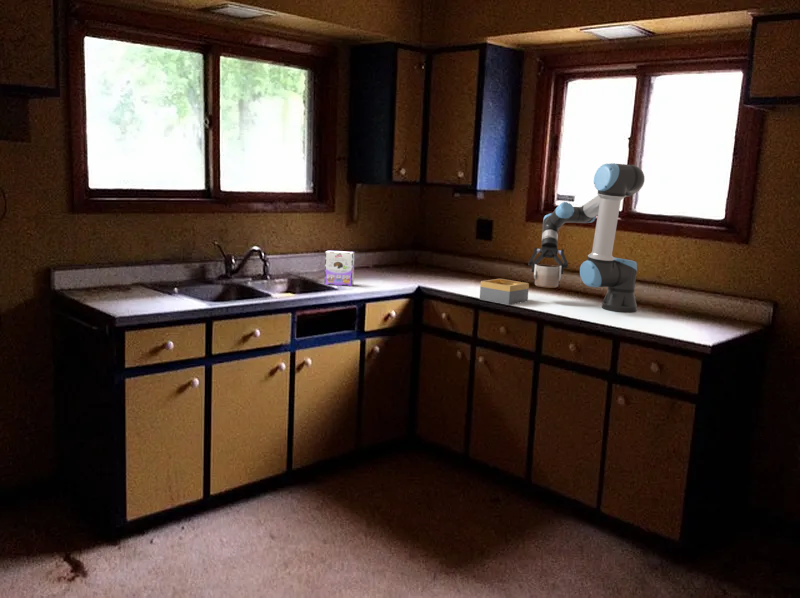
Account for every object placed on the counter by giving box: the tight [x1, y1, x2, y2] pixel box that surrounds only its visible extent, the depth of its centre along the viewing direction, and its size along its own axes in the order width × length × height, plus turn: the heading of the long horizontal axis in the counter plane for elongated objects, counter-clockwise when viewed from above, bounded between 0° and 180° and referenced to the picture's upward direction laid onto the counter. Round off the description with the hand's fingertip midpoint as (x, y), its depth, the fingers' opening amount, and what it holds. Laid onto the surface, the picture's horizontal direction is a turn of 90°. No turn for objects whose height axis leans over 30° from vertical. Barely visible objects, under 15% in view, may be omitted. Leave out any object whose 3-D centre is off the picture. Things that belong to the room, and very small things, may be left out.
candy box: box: [323, 250, 355, 287], centre depth 365 cm, size 14×6×16 cm, turn 84°
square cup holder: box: [479, 278, 530, 306], centre depth 345 cm, size 16×16×8 cm
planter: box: [534, 263, 560, 288], centre depth 345 cm, size 11×11×10 cm
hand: (547, 277), depth 343 cm, fingers closed on planter, 11 cm apart
